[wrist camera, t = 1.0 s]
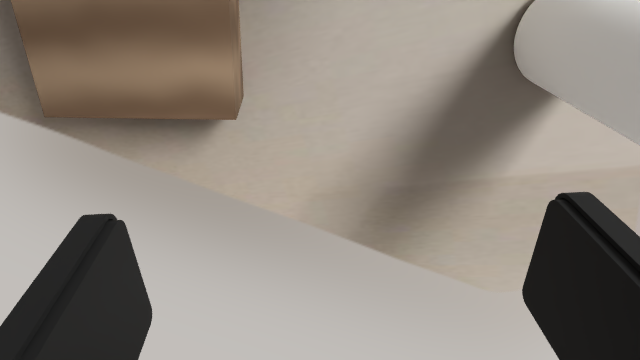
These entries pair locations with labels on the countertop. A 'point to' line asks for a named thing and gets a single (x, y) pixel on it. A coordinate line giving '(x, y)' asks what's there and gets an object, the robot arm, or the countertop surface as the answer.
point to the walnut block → (134, 57)
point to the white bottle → (586, 57)
